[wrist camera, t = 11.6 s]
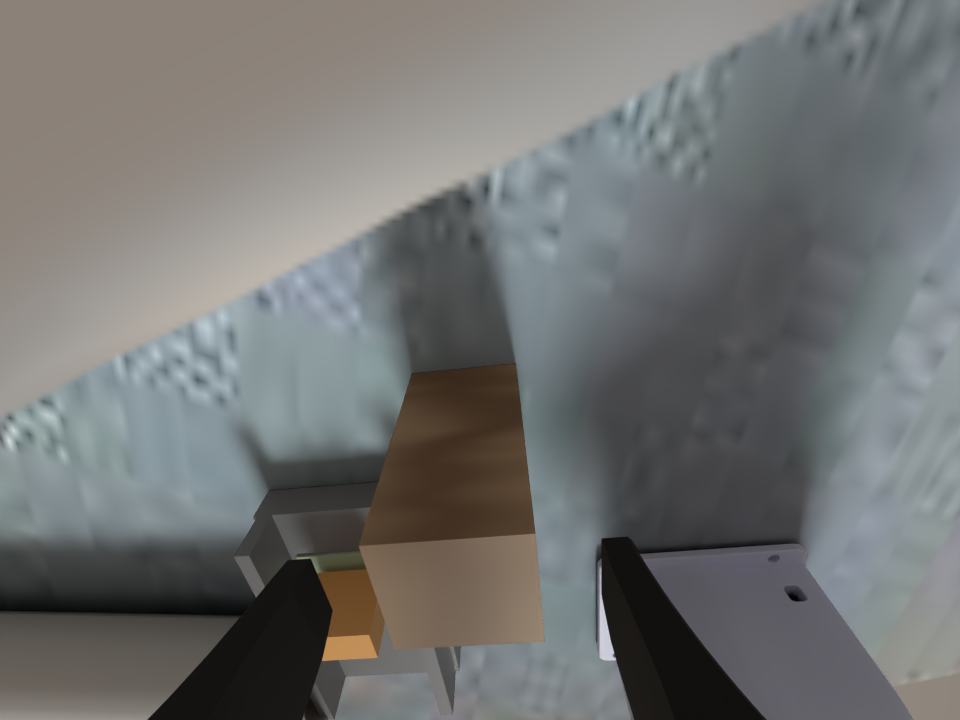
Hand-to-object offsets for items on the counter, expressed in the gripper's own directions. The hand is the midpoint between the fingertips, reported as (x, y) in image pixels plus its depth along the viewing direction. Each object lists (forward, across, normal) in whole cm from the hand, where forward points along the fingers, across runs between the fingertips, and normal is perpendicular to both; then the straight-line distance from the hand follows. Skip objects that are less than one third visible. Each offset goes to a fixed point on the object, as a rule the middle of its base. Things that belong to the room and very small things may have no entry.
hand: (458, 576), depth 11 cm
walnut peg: (+8, 0, 0) cm, 8 cm away
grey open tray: (+8, +6, +9) cm, 14 cm away
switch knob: (+6, +6, +7) cm, 11 cm away
